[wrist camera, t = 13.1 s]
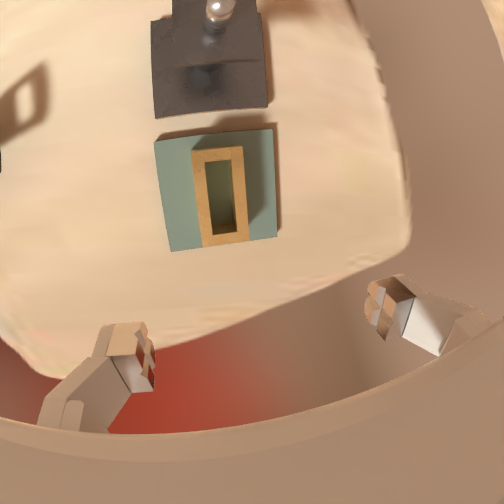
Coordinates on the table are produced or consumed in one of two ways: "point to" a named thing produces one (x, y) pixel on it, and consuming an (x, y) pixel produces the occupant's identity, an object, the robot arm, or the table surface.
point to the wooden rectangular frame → (239, 225)
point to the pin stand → (208, 58)
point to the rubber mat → (216, 185)
